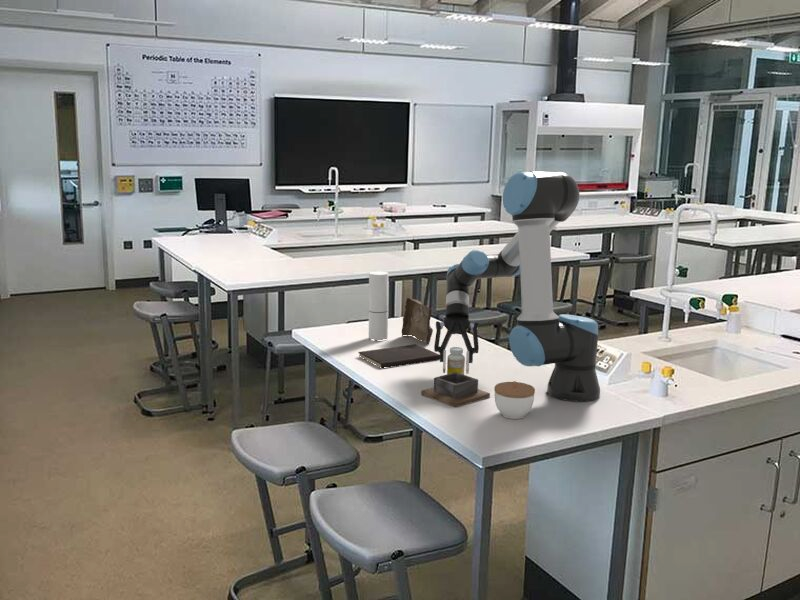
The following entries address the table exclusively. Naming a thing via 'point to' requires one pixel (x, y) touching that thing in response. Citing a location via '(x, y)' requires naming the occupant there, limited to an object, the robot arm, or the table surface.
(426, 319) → the mineral sample
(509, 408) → the lidded jar
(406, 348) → the hardcover book
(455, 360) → the supplement bottle
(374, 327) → the cylindrical container
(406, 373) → the table surface
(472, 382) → the wooden square holder
